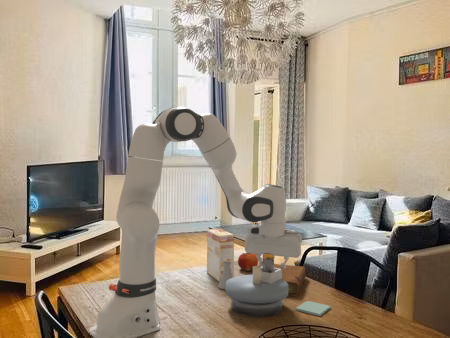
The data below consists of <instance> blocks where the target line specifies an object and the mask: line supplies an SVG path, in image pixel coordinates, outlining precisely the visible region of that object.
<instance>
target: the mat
mask: <svg viewBox="0 0 450 338" xmlns="http://www.w3.org/2000/svg"><path fill="white" fill-rule="evenodd" d="M329 310H331V305H328V304H323V303H319V302H315V301H311V300H310V301H309V300H306V301H304V302H303V303H301V304H300V305H297V307H295V311H298V312H301V313H305V314H308V315H309V314H310V315H314V316H316V317H317V316H318V317H321V316H323V314H325V313H326V312H328V311H329Z"/></svg>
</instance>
